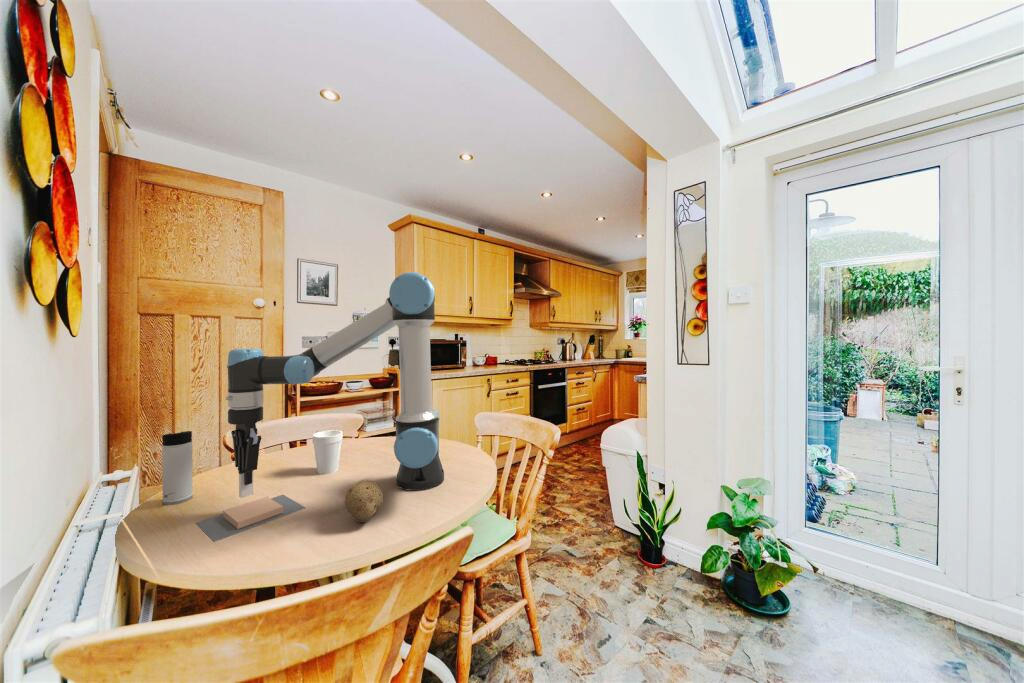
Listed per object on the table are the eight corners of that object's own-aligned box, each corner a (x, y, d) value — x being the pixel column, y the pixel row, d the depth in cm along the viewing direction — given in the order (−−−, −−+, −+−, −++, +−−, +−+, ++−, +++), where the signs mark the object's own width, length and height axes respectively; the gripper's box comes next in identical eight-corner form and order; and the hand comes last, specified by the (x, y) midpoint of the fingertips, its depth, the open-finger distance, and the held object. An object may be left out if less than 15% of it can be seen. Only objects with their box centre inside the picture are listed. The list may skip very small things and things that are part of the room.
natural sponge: (365, 508, 99) (365, 472, 99) (390, 515, 95) (390, 477, 95) (337, 524, 91) (336, 484, 90) (363, 532, 87) (362, 491, 87)
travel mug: (163, 509, 98) (163, 435, 98) (161, 501, 102) (161, 431, 102) (194, 501, 103) (193, 431, 102) (191, 494, 107) (190, 427, 107)
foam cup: (314, 468, 129) (313, 431, 128) (342, 464, 133) (342, 429, 132) (311, 477, 120) (311, 438, 120) (342, 473, 124) (342, 435, 124)
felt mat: (306, 509, 98) (306, 507, 98) (213, 543, 82) (213, 541, 82) (283, 495, 106) (283, 494, 106) (195, 524, 90) (195, 522, 90)
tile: (267, 503, 101) (283, 513, 95) (223, 517, 93) (237, 529, 87) (267, 496, 101) (283, 506, 95) (223, 510, 93) (237, 522, 87)
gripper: (219, 406, 97) (220, 494, 97) (238, 412, 89) (238, 507, 90) (252, 402, 103) (252, 484, 103) (272, 407, 95) (272, 496, 96)
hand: (246, 495), depth 96 cm, fingers closed
